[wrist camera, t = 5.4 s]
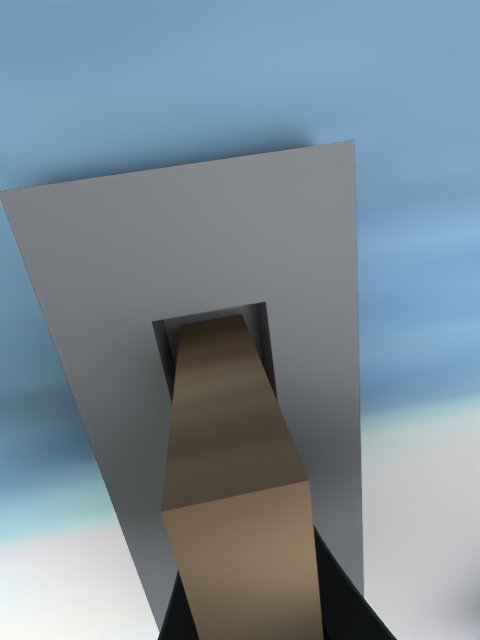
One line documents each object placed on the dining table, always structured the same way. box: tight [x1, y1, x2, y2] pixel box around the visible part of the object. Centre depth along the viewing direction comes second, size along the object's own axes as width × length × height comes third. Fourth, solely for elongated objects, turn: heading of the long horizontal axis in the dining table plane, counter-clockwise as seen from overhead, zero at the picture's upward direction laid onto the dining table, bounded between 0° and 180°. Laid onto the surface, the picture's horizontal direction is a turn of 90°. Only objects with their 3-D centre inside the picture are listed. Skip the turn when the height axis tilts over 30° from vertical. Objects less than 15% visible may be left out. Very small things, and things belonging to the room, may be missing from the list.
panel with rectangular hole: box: [0, 140, 364, 632], centre depth 12 cm, size 20×8×2 cm, turn 8°
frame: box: [161, 314, 324, 640], centre depth 10 cm, size 11×2×7 cm, turn 8°
